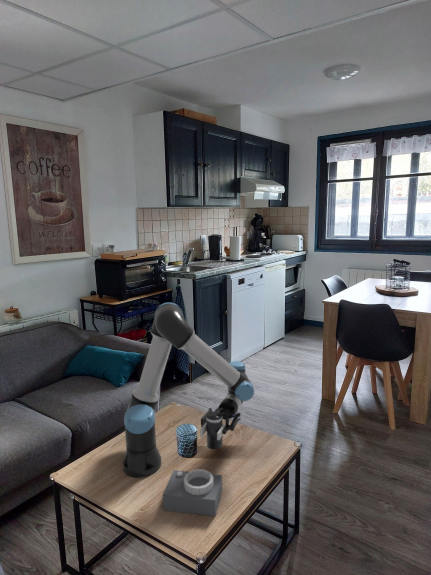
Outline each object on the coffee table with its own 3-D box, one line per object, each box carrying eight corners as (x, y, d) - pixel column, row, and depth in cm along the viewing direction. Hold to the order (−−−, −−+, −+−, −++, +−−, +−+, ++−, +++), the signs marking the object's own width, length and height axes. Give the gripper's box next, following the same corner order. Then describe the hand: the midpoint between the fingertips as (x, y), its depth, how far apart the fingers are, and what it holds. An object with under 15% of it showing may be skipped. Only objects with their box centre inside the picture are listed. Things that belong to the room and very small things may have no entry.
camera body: (163, 510, 134) (162, 487, 132) (174, 484, 146) (173, 464, 145) (215, 516, 130) (215, 493, 129) (222, 489, 143) (221, 468, 141)
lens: (205, 448, 147) (204, 419, 145) (208, 439, 153) (208, 411, 151) (221, 450, 146) (221, 420, 144) (224, 441, 152) (223, 412, 150)
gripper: (251, 418, 162) (234, 449, 141) (208, 411, 169) (186, 439, 148) (251, 401, 161) (234, 430, 140) (208, 394, 168) (185, 421, 146)
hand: (209, 434), depth 144 cm, fingers closed on lens, 6 cm apart
